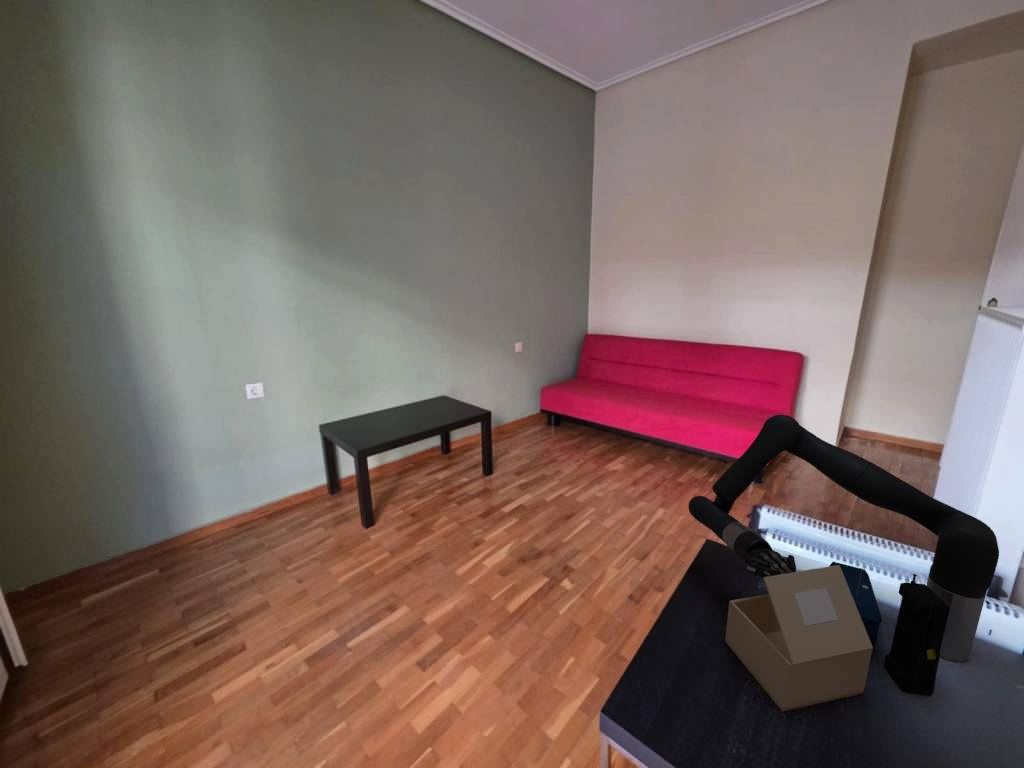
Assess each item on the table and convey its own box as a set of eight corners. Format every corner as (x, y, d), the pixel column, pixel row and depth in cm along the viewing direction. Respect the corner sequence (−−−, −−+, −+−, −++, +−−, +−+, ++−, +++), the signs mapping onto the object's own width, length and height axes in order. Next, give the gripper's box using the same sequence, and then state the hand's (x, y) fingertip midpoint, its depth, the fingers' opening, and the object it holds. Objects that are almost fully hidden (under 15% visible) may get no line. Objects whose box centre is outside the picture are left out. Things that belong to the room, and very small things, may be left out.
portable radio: (939, 702, 88) (964, 601, 82) (905, 697, 89) (928, 597, 83) (912, 669, 95) (934, 574, 89) (881, 665, 96) (901, 571, 91)
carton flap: (763, 577, 90) (764, 577, 90) (837, 565, 93) (839, 565, 93) (791, 663, 84) (794, 664, 83) (870, 647, 87) (873, 647, 87)
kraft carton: (725, 641, 104) (729, 600, 101) (794, 628, 107) (800, 588, 105) (782, 711, 87) (789, 664, 84) (863, 693, 90) (872, 647, 87)
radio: (878, 663, 97) (893, 589, 92) (831, 647, 102) (843, 576, 97) (862, 605, 114) (875, 540, 110) (823, 593, 119) (833, 531, 114)
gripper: (723, 533, 107) (776, 578, 90) (769, 527, 109) (828, 569, 92) (721, 559, 109) (772, 607, 92) (766, 552, 111) (824, 598, 94)
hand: (800, 588), depth 92 cm, fingers closed
